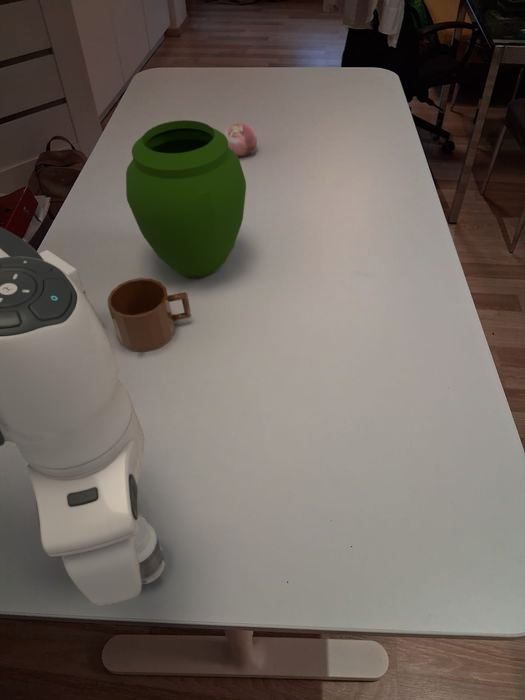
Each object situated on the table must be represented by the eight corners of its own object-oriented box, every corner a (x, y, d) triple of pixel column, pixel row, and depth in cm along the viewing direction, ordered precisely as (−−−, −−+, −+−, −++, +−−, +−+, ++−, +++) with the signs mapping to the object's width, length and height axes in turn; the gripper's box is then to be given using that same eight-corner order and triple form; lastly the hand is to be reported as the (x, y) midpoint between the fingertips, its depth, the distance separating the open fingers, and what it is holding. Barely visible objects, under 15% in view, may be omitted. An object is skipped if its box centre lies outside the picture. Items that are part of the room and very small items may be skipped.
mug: (121, 357, 84) (109, 322, 78) (117, 318, 90) (106, 284, 84) (196, 341, 85) (190, 306, 80) (188, 305, 91) (181, 270, 86)
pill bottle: (174, 556, 62) (161, 523, 56) (148, 593, 59) (132, 563, 53) (142, 536, 64) (126, 502, 57) (115, 571, 61) (96, 540, 55)
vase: (220, 311, 90) (203, 178, 72) (124, 283, 96) (86, 154, 78) (268, 247, 102) (263, 119, 84) (180, 225, 108) (158, 102, 90)
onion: (219, 158, 127) (216, 128, 121) (231, 143, 132) (228, 113, 126) (251, 162, 125) (250, 132, 120) (262, 147, 130) (260, 117, 125)
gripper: (48, 356, 50) (90, 440, 60) (41, 573, 36) (97, 634, 46) (116, 342, 50) (146, 427, 61) (135, 548, 37) (170, 614, 47)
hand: (125, 518), depth 53 cm, fingers open, 8 cm apart
